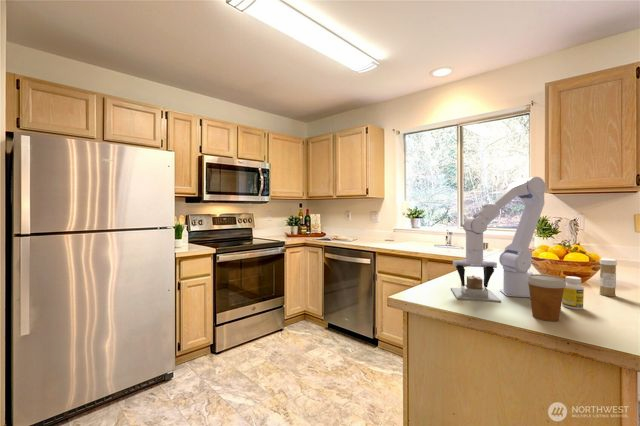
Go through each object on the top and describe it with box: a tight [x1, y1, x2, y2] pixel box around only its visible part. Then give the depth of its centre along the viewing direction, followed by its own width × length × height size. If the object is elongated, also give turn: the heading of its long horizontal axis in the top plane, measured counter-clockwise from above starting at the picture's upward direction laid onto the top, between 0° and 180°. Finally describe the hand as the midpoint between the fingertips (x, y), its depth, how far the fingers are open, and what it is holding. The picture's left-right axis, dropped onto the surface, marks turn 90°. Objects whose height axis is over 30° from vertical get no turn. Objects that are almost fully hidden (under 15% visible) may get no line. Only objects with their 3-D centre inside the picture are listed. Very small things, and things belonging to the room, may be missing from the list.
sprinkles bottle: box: [598, 257, 618, 297], centre depth 114 cm, size 5×5×14 cm
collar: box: [460, 283, 489, 297], centre depth 114 cm, size 8×8×2 cm
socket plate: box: [450, 287, 502, 303], centre depth 114 cm, size 14×14×1 cm
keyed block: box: [466, 275, 484, 289], centre depth 114 cm, size 4×4×6 cm
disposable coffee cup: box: [527, 273, 566, 322], centre depth 91 cm, size 10×10×12 cm
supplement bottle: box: [561, 275, 585, 310], centre depth 100 cm, size 5×5×10 cm
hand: (474, 286), depth 114 cm, fingers open, 7 cm apart
